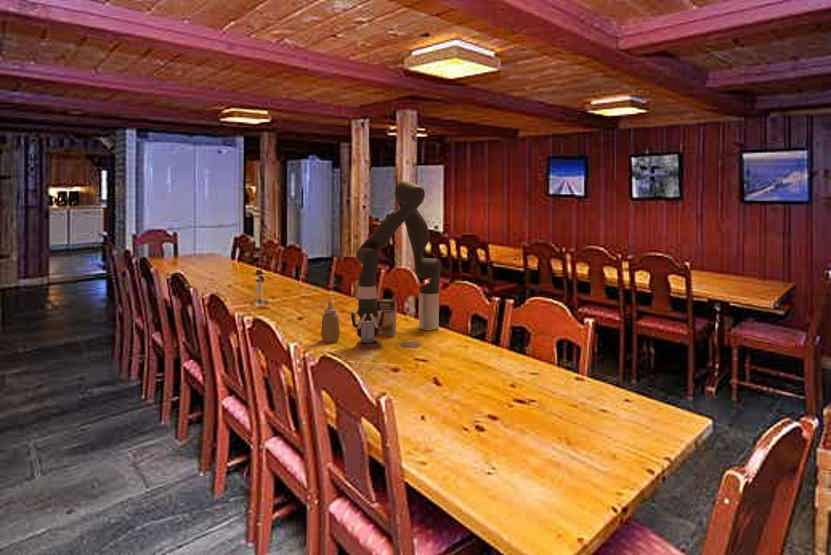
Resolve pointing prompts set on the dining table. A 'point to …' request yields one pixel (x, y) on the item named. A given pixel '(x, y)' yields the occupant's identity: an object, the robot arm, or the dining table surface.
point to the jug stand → (369, 346)
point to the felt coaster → (410, 344)
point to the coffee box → (387, 316)
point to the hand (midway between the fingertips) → (367, 336)
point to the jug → (367, 332)
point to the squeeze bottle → (330, 325)
